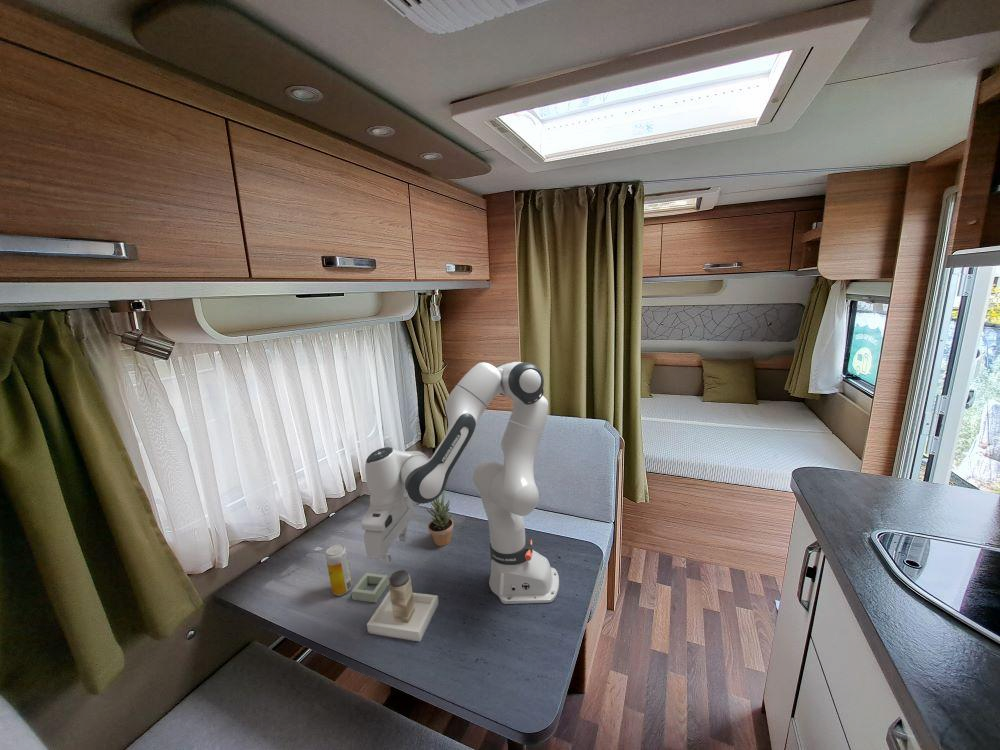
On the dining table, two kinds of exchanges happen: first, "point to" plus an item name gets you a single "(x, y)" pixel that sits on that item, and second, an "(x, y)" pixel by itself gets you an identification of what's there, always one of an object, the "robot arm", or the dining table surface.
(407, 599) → the wooden pepper mill
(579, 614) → the dining table surface
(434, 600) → the tray
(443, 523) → the potted plant
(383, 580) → the socket block
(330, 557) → the orange pill bottle
